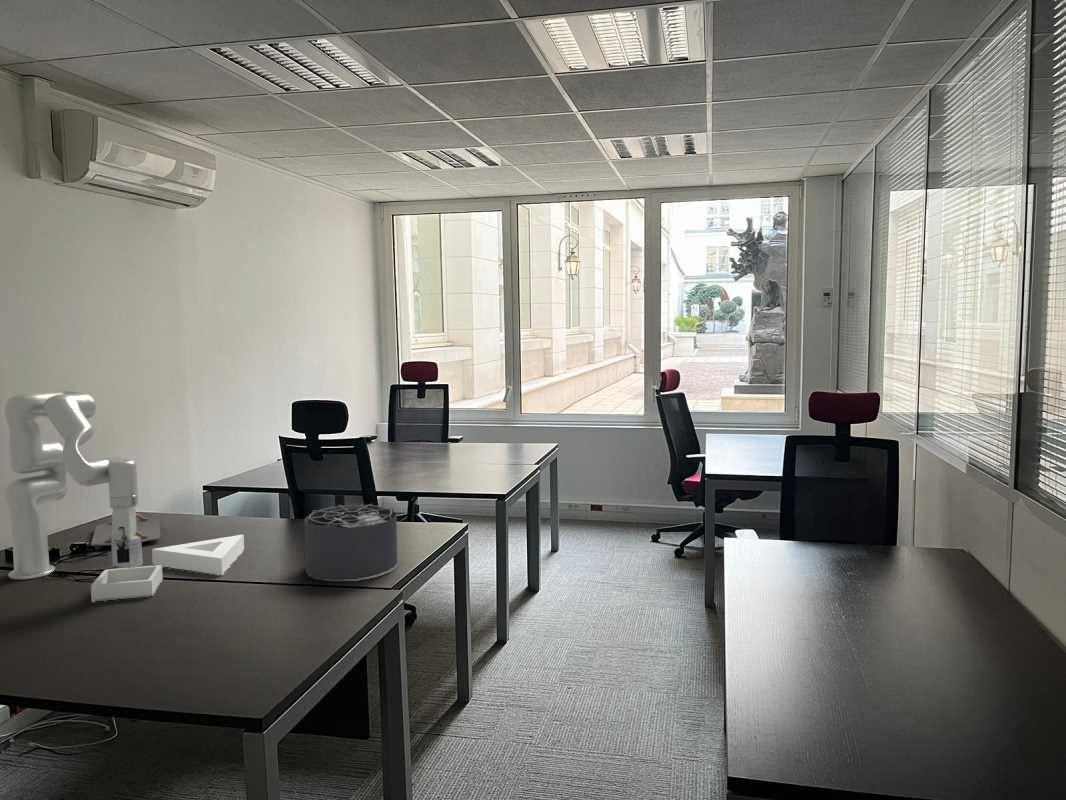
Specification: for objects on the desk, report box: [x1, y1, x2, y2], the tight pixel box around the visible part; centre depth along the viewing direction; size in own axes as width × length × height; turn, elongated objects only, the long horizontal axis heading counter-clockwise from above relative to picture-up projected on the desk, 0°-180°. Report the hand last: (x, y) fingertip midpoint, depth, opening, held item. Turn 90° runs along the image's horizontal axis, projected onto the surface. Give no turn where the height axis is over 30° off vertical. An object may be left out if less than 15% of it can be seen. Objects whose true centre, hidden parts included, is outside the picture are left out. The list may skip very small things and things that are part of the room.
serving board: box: [90, 513, 162, 550], centre depth 293 cm, size 39×23×6 cm, turn 27°
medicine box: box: [111, 536, 144, 568], centre depth 229 cm, size 8×4×9 cm, turn 65°
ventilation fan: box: [304, 503, 398, 580], centre depth 251 cm, size 30×18×30 cm
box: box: [90, 565, 164, 603], centre depth 230 cm, size 16×16×5 cm
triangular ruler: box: [151, 534, 245, 576], centre depth 262 cm, size 30×26×6 cm
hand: (127, 558), depth 229 cm, fingers closed on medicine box, 8 cm apart
